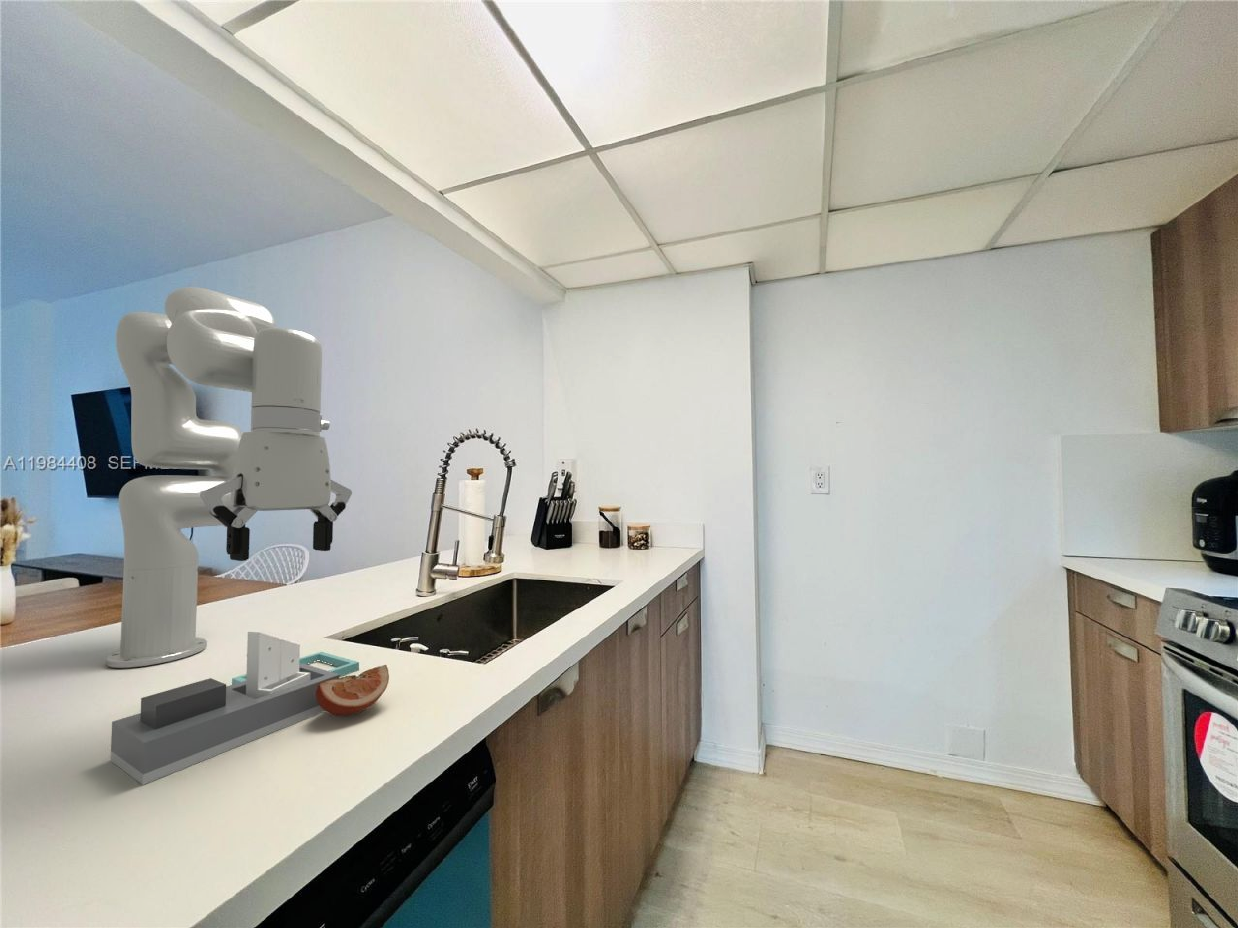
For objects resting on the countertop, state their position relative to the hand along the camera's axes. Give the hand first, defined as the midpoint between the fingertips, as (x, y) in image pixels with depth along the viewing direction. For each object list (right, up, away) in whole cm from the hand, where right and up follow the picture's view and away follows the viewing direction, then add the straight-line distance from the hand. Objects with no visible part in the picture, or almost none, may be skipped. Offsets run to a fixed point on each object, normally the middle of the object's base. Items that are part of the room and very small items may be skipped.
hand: (283, 554), depth 61 cm
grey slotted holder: (-2, -20, -5) cm, 21 cm away
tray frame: (-5, -21, +10) cm, 24 cm away
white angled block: (0, -19, -1) cm, 19 cm away
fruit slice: (+10, -20, -1) cm, 23 cm away
